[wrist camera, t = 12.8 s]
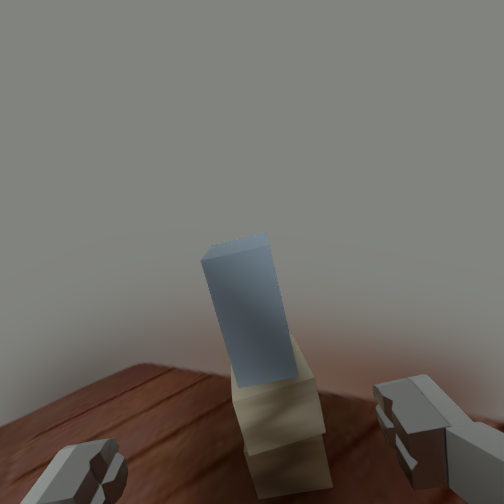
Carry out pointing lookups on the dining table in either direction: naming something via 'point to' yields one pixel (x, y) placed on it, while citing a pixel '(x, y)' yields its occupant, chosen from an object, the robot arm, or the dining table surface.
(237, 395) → the tower top
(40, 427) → the dining table surface
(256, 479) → the tower base
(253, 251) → the pillar
